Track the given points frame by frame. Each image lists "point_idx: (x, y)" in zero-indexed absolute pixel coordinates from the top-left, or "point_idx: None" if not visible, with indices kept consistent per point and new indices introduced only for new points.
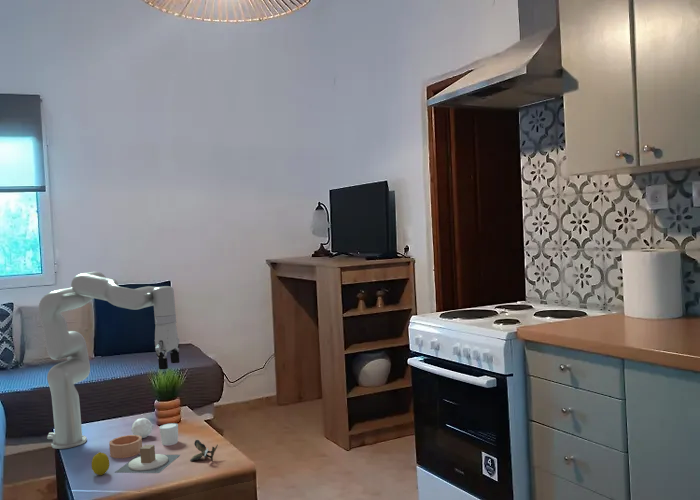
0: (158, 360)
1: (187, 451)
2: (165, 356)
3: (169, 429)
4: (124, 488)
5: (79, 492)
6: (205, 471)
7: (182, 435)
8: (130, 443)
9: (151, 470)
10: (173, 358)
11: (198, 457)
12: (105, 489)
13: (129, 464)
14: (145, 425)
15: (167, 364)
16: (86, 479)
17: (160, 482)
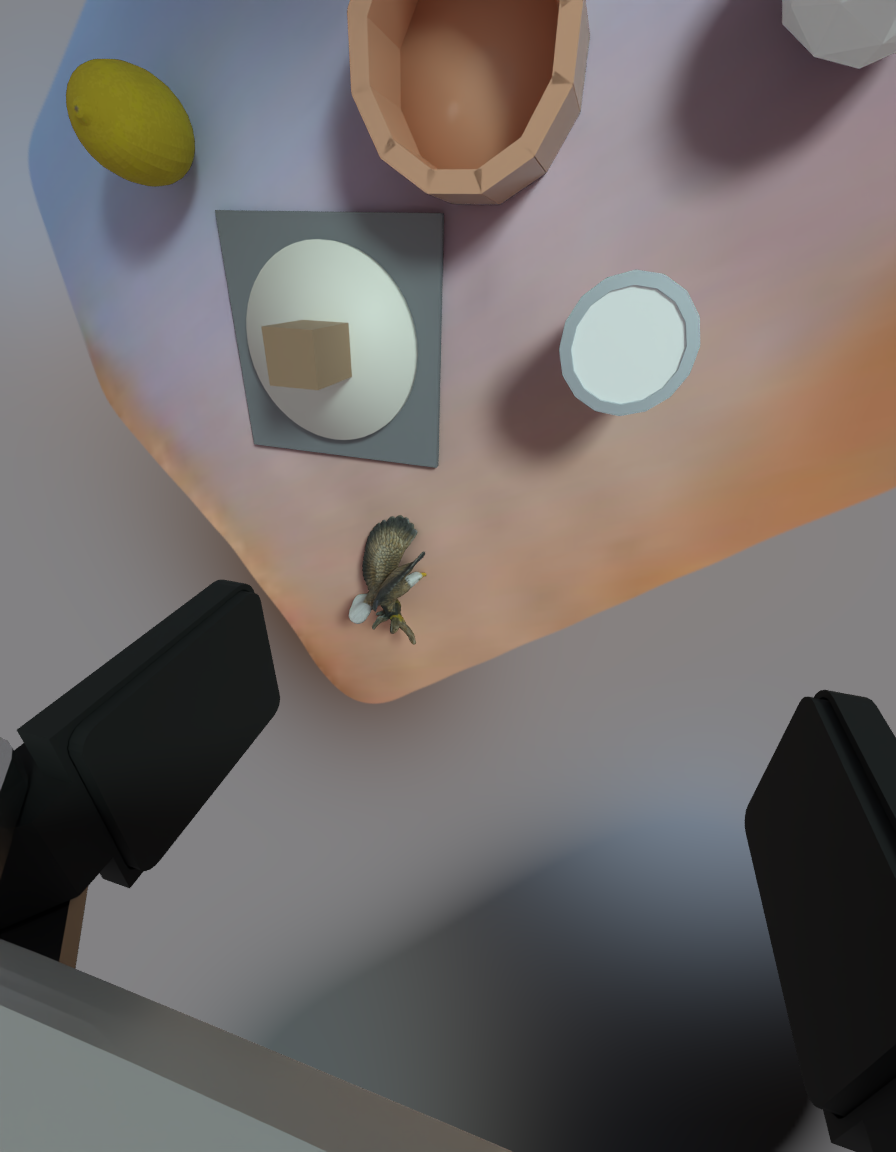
0: (73, 692)
1: (497, 478)
2: (61, 910)
3: (565, 377)
4: (130, 356)
5: (35, 151)
6: (309, 595)
7: (792, 353)
8: (391, 154)
9: (267, 401)
10: (818, 842)
11: (365, 569)
12: (97, 273)
13: (276, 260)
14: (827, 9)
15: (225, 761)
16: None
17: (205, 474)
